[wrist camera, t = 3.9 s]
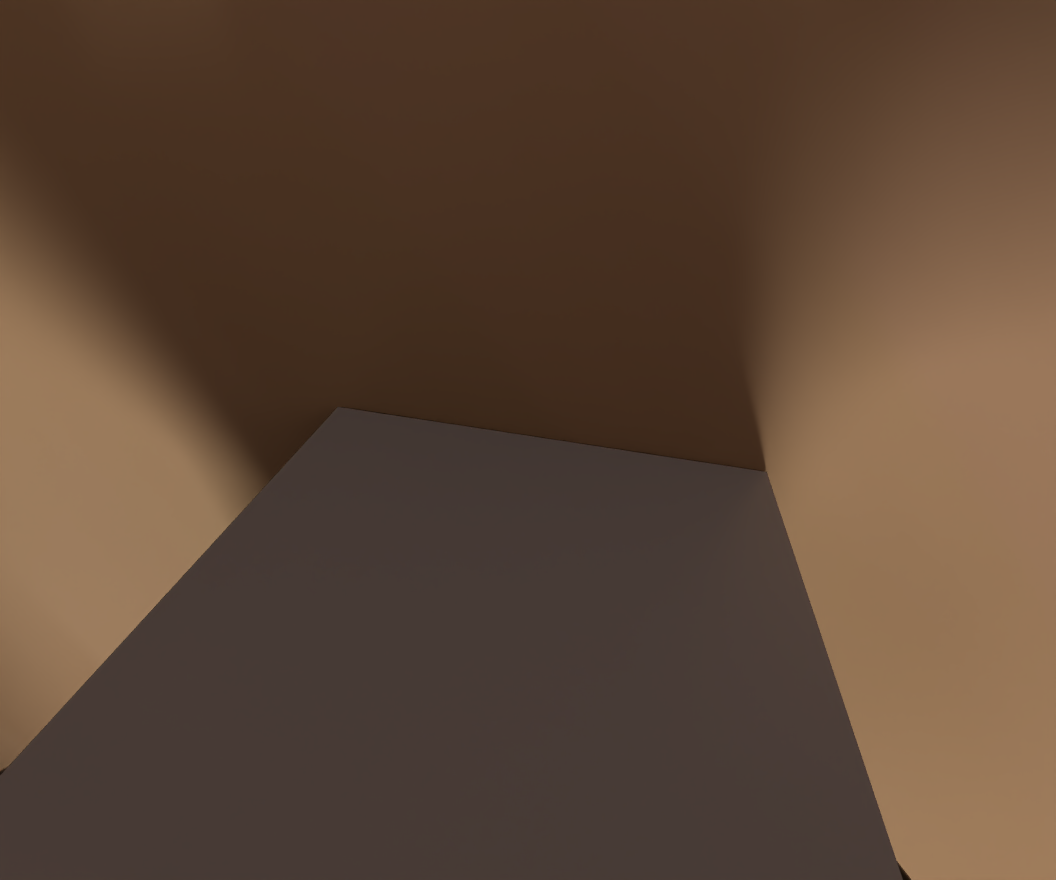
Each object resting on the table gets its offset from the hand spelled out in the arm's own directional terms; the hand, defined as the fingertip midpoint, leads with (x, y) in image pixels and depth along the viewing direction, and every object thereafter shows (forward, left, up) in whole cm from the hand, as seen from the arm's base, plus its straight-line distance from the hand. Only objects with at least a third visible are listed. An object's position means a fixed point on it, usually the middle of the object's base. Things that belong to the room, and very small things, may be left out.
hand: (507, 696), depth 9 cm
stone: (0, 0, -2) cm, 2 cm away
